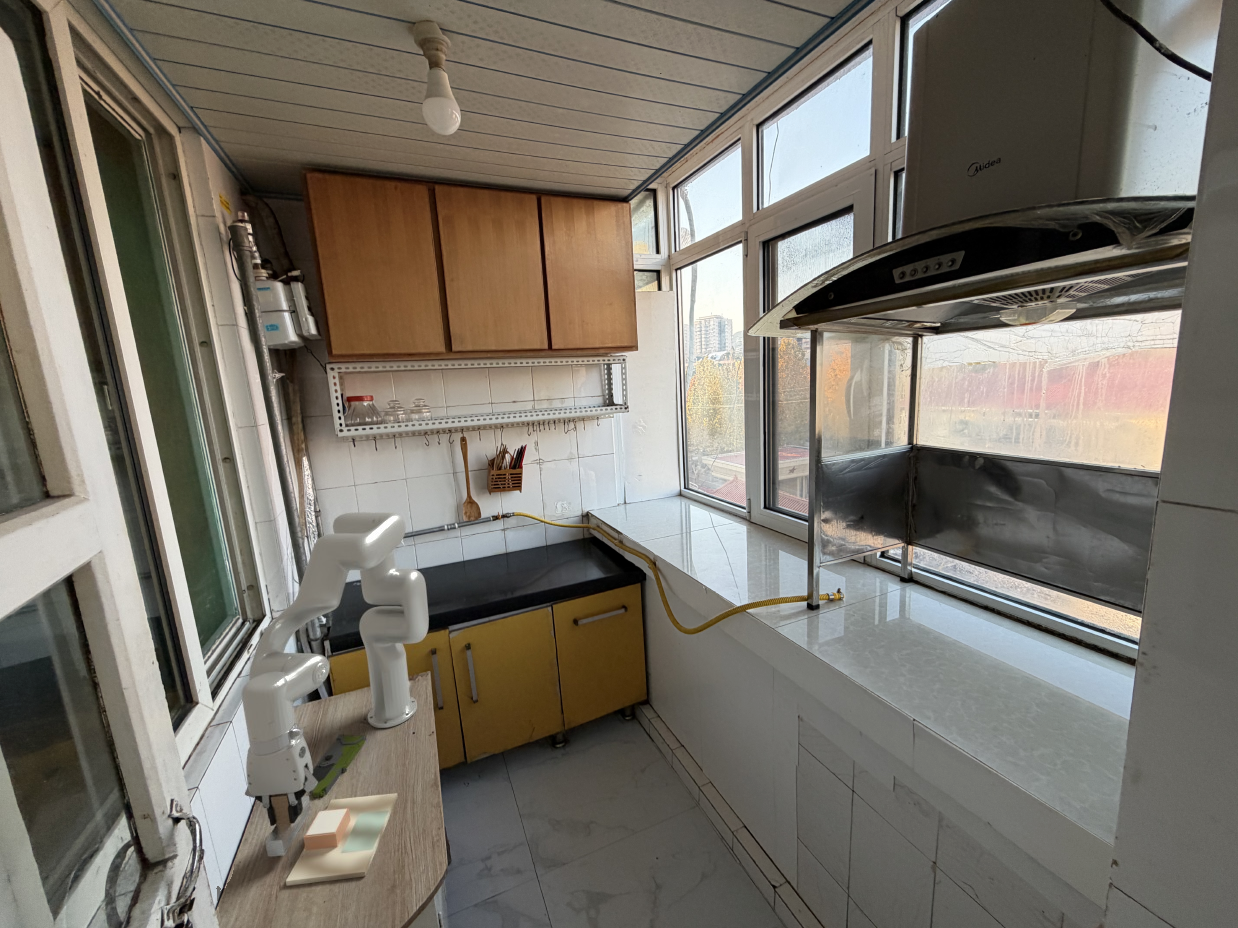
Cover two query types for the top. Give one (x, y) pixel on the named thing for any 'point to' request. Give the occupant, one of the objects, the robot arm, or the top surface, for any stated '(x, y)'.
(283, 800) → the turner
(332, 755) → the gun
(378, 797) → the board
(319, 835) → the tile
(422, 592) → the robot arm
